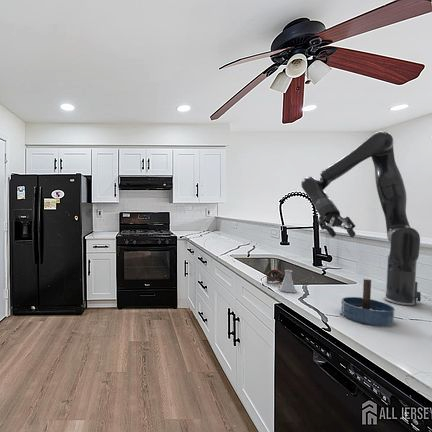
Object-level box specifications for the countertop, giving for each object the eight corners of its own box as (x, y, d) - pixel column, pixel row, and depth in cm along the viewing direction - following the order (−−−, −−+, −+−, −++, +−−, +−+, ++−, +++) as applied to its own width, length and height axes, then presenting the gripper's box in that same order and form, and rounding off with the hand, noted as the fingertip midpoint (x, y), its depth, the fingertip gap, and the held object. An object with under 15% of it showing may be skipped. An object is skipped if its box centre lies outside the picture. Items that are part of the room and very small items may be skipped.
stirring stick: (366, 314, 106) (368, 277, 106) (376, 319, 102) (378, 281, 101) (355, 314, 106) (356, 277, 105) (364, 319, 102) (366, 281, 101)
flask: (295, 294, 131) (296, 272, 131) (278, 291, 135) (279, 270, 135) (296, 290, 138) (297, 269, 137) (280, 287, 141) (281, 267, 141)
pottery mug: (290, 287, 144) (284, 274, 142) (272, 293, 147) (266, 280, 145) (284, 275, 155) (278, 263, 154) (267, 281, 158) (261, 269, 157)
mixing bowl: (368, 310, 112) (369, 296, 112) (405, 327, 97) (406, 311, 97) (331, 310, 111) (332, 296, 111) (363, 327, 96) (364, 311, 96)
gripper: (315, 203, 128) (332, 230, 117) (345, 203, 129) (365, 230, 118) (308, 214, 134) (323, 241, 123) (336, 214, 135) (354, 241, 124)
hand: (343, 236), depth 121 cm, fingers open, 8 cm apart
